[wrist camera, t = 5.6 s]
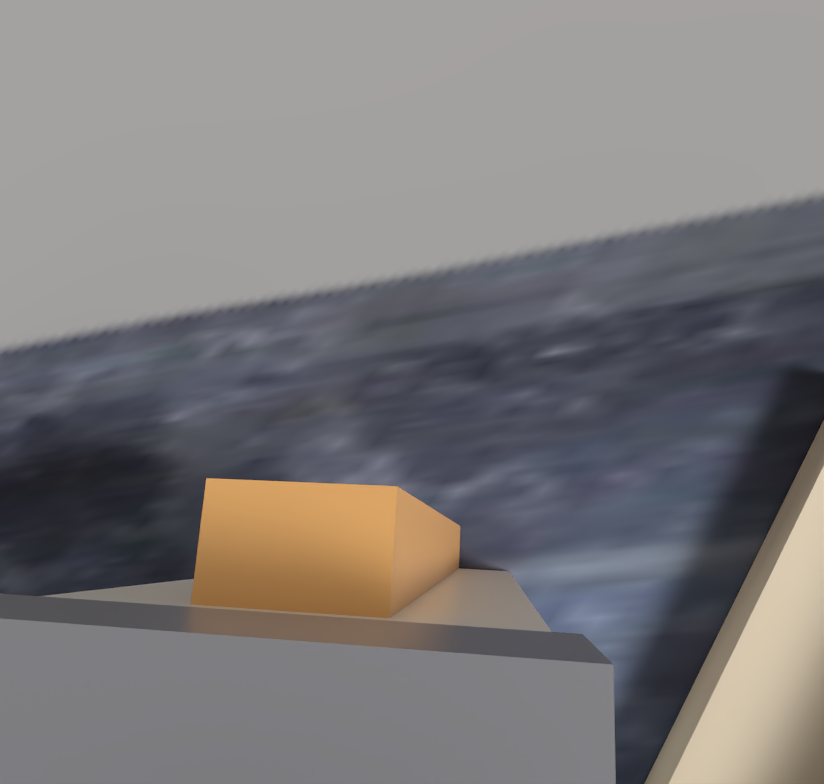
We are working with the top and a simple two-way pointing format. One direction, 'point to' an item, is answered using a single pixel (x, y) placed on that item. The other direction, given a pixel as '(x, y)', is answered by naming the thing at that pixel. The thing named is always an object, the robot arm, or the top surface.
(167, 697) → the plug
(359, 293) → the top surface
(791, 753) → the board
